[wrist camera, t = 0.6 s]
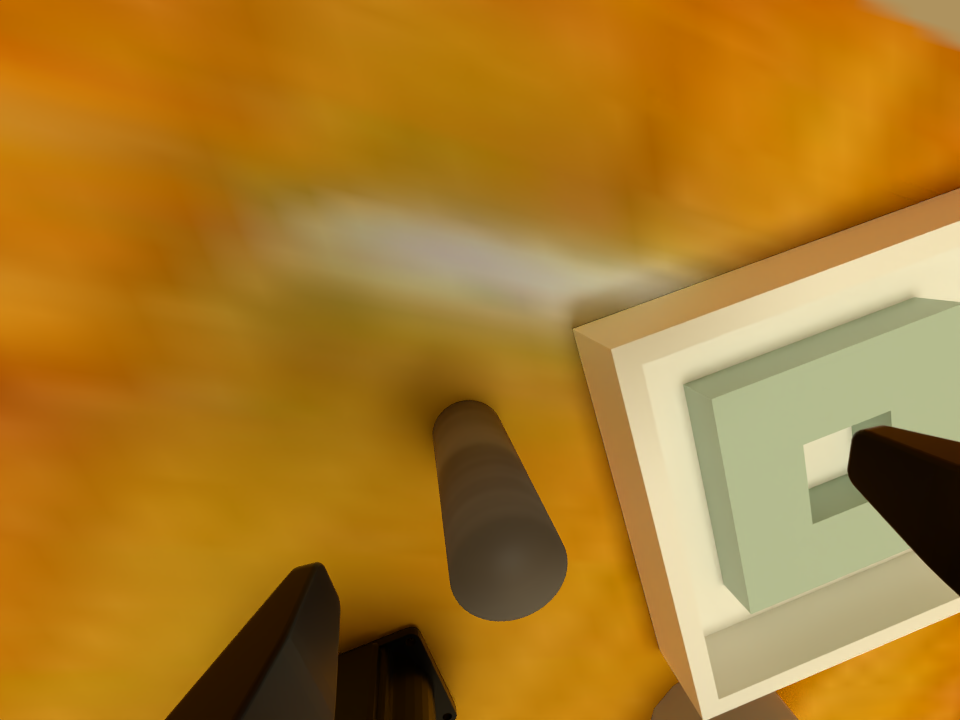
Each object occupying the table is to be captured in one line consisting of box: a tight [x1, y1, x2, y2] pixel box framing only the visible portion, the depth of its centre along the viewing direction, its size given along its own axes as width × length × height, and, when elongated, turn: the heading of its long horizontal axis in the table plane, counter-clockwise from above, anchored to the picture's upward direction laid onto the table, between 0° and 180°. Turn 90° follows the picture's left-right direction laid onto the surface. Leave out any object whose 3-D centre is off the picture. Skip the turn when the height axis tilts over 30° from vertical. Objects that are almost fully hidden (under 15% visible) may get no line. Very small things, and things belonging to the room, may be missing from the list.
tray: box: [572, 188, 960, 720], centre depth 21 cm, size 20×20×4 cm
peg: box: [433, 400, 567, 621], centre depth 16 cm, size 3×3×9 cm
